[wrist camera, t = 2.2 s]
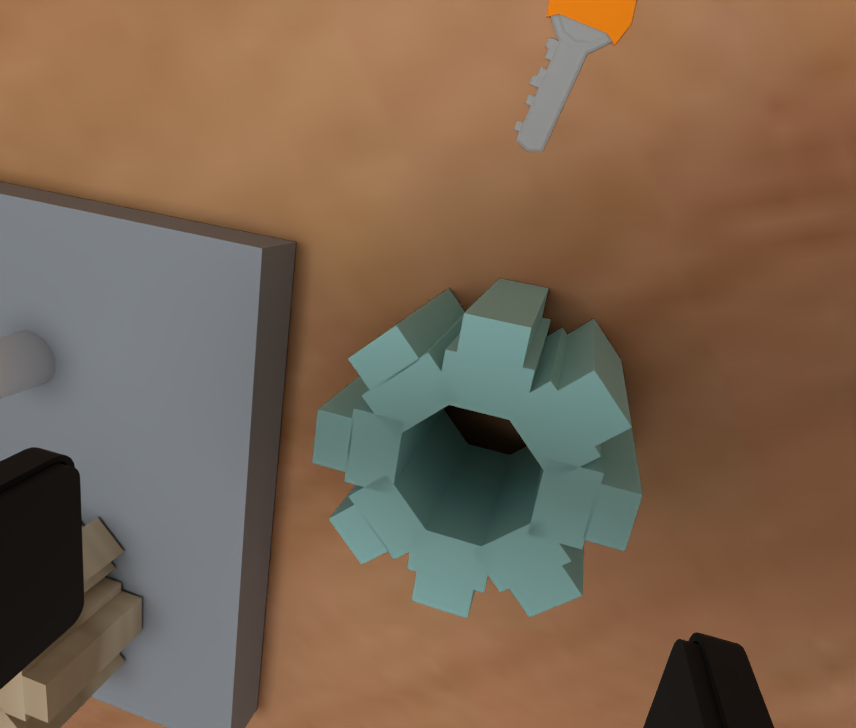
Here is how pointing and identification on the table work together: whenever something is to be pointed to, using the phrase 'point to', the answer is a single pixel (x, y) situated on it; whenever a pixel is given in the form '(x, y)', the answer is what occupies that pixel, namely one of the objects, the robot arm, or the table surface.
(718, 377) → the table surface
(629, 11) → the key chain
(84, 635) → the beech gear
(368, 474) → the teal gear
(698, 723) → the robot arm
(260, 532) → the gear board
